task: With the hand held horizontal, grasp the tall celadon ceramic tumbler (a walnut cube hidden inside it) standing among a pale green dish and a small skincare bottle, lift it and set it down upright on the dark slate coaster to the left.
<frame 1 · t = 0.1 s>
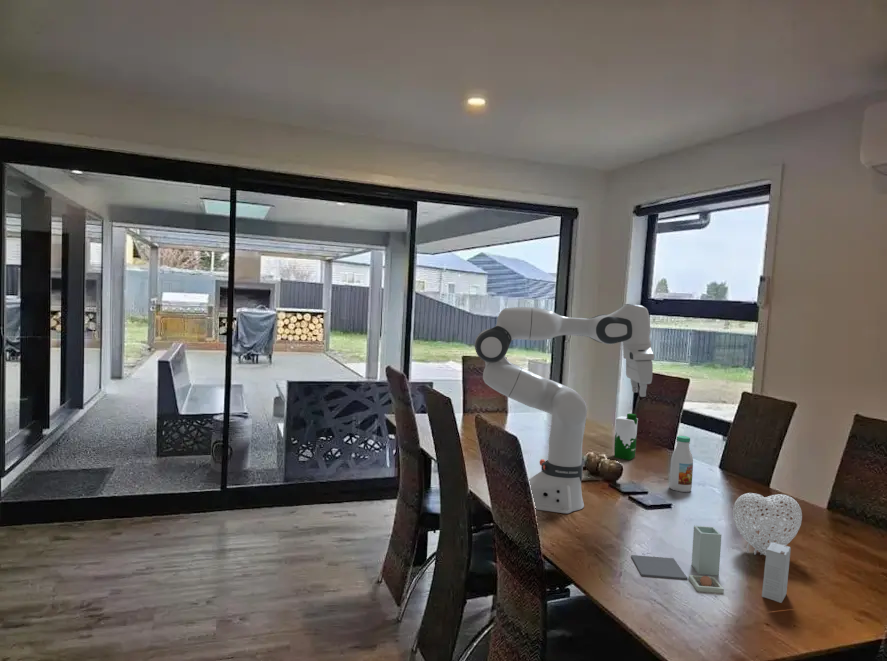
hand: (639, 394, 189), 39 cm above the table, tool pointing down, fingers open, 8 cm apart
decorative heart: (764, 555, 158), on the table
slate coaster: (657, 569, 146), on the table
skincare box: (774, 598, 134), on the table
milk bottle: (680, 489, 215), on the table
milk carton: (624, 457, 258), on the table
walnut cube: (704, 569, 146), point 1 cm above the table, touching celadon tumbler
celadon tumbler: (704, 572, 146), on the table, touching walnut cube
terracotta ball: (705, 586, 138), resting on sage dish
sage dish: (705, 589, 138), on the table, touching terracotta ball
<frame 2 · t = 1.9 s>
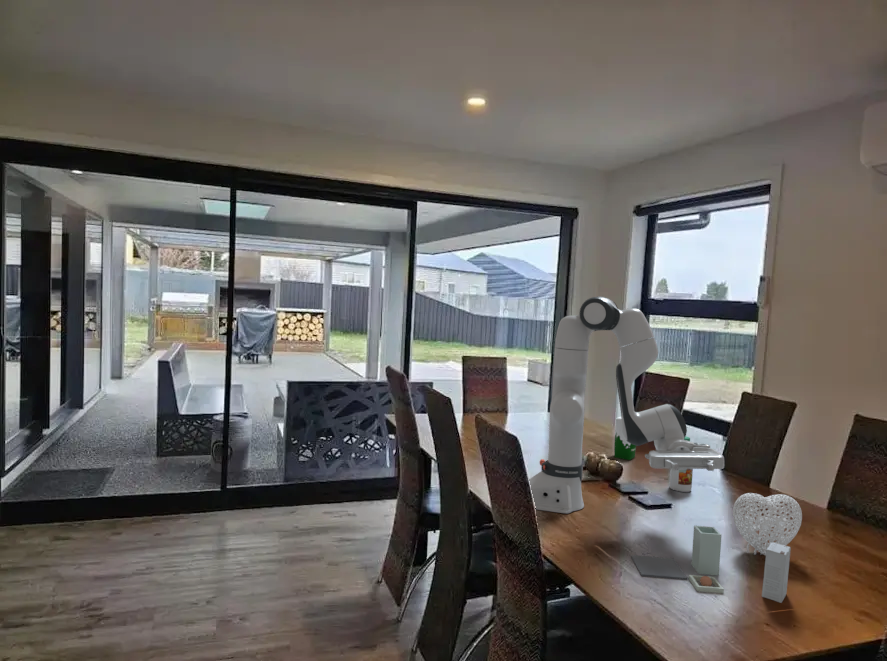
hand: (693, 467, 158), 24 cm above the table, tool horizontal, fingers open, 8 cm apart
nothing on the table moved.
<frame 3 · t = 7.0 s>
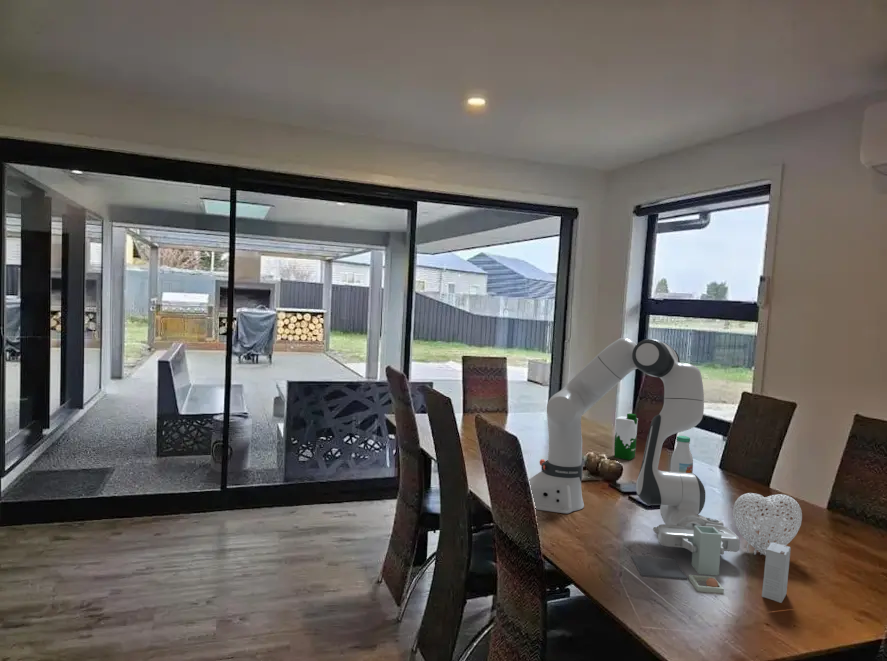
hand: (707, 550, 145), 6 cm above the table, tool horizontal, fingers closed on celadon tumbler, 5 cm apart
celadon tumbler: (704, 571, 146), on the table, touching gripper, walnut cube
terracotta ball: (707, 584, 138), point 1 cm above the table, tilted 58°, touching sage dish
everything else where it was.
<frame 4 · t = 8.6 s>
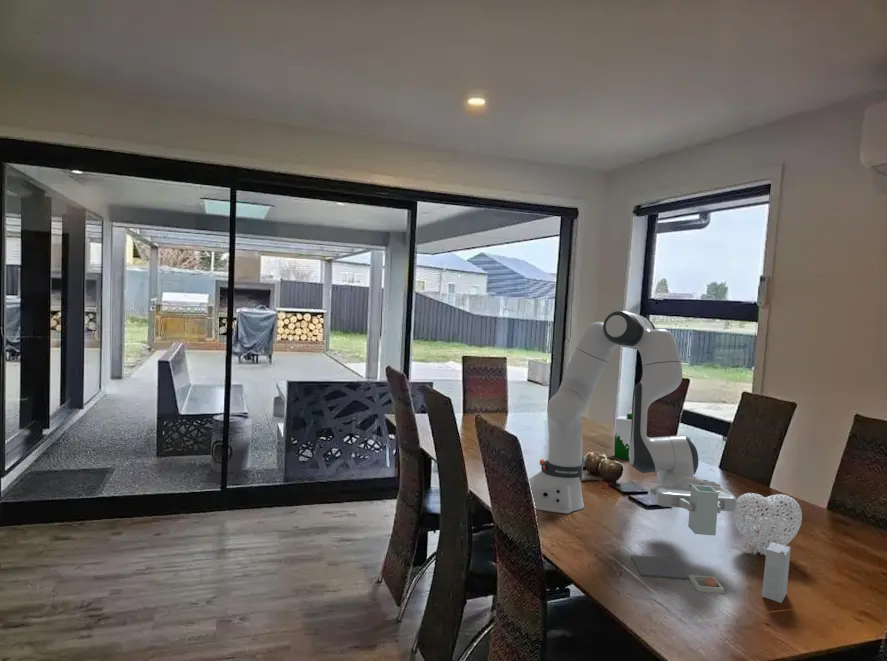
hand: (704, 509, 145), 17 cm above the table, tool horizontal, fingers closed on celadon tumbler, 5 cm apart
walnut cube: (701, 528, 146), point 11 cm above the table, touching celadon tumbler
celadon tumbler: (701, 530, 146), point 11 cm above the table, touching gripper, walnut cube
terracotta ball: (707, 585, 138), point 1 cm above the table, tilted 42°, touching sage dish
everything else where it was.
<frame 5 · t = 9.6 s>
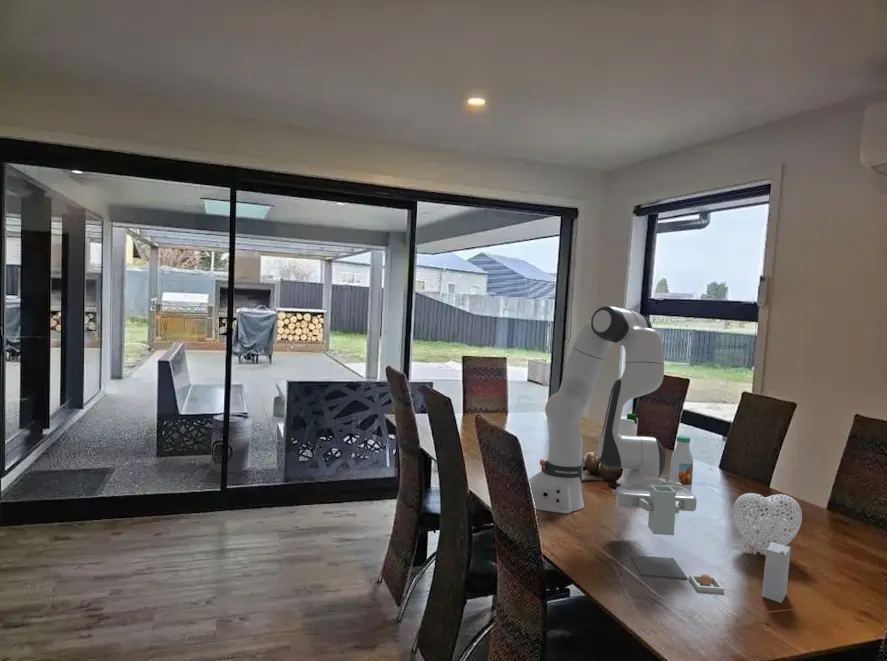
hand: (663, 509, 145), 16 cm above the table, tool horizontal, fingers closed on celadon tumbler, 5 cm apart
walnut cube: (660, 528, 146), point 11 cm above the table, touching celadon tumbler
celadon tumbler: (660, 530, 146), point 10 cm above the table, touching gripper, walnut cube
terracotta ball: (706, 586, 138), resting on sage dish, tilted 28°
everything else where it was.
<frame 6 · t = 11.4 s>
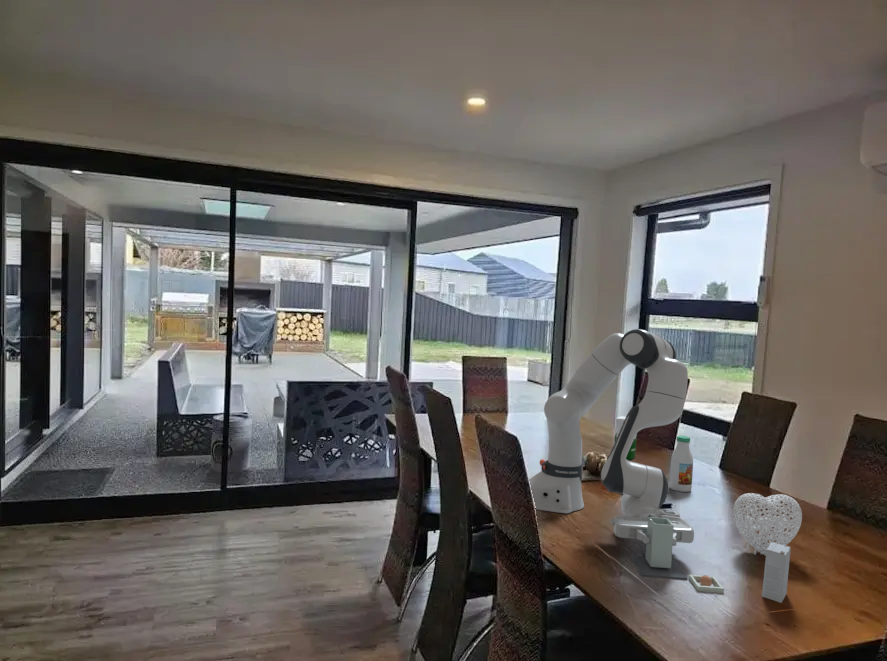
hand: (660, 541, 145), 8 cm above the table, tool horizontal, fingers closed on celadon tumbler, 5 cm apart
walnut cube: (658, 560, 147), point 2 cm above the table, touching celadon tumbler
celadon tumbler: (657, 563, 147), point 2 cm above the table, touching gripper, walnut cube
terracotta ball: (706, 586, 138), resting on sage dish, tilted 10°
everything else where it was.
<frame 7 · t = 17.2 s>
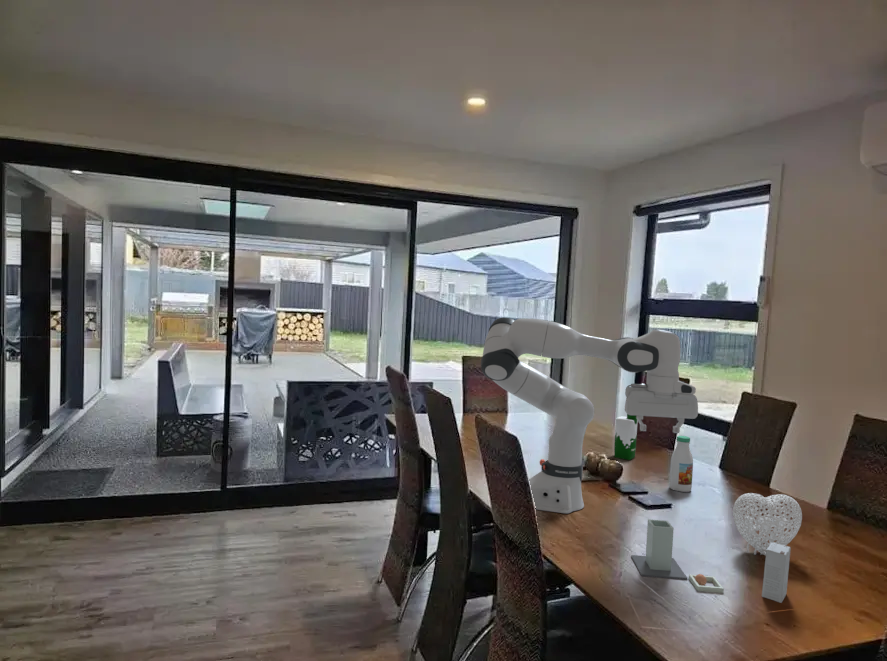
hand: (659, 431, 167), 31 cm above the table, tool pointing down, fingers open, 8 cm apart
celadon tumbler: (657, 565, 147), point 1 cm above the table, touching slate coaster, walnut cube
terracotta ball: (705, 583, 138), point 1 cm above the table, tilted 53°, touching sage dish
at the end: celadon tumbler inside the target area on the slate coaster (0.2 cm from its centre), point 1.0 cm above the slate coaster's base; celadon tumbler tilted 0°; the gripper is holding nothing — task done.
